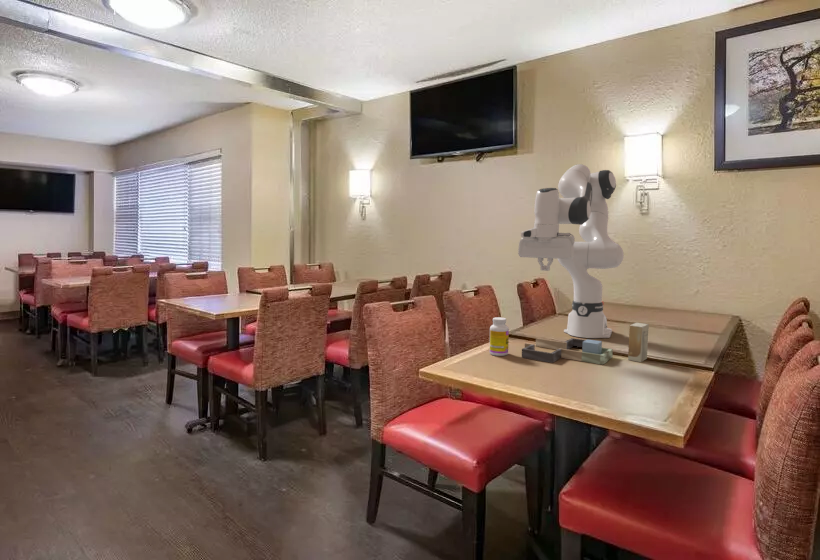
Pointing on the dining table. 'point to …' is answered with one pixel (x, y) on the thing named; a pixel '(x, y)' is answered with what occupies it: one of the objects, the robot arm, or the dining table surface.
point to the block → (592, 346)
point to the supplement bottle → (499, 337)
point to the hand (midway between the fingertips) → (545, 270)
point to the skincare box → (638, 342)
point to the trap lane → (564, 351)
